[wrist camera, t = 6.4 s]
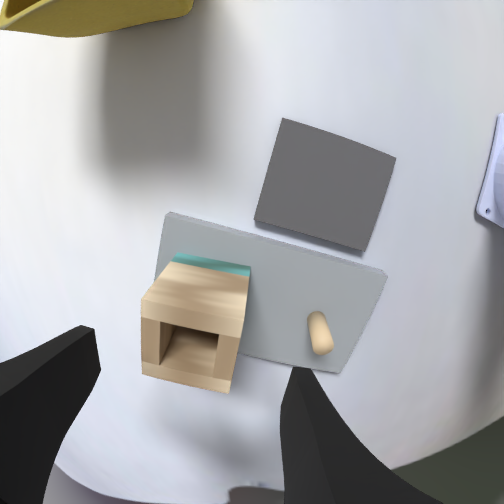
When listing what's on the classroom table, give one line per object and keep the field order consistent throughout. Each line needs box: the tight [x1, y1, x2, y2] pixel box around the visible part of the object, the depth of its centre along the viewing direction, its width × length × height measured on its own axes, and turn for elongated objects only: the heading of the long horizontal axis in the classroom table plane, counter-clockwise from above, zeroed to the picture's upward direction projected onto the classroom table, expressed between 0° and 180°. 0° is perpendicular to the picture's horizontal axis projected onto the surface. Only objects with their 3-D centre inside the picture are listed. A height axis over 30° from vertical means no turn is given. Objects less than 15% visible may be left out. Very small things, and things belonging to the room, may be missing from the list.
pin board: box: [154, 212, 388, 373], centre depth 18 cm, size 14×8×4 cm, turn 75°
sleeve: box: [141, 252, 251, 394], centre depth 16 cm, size 4×4×6 cm
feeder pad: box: [254, 118, 396, 252], centre depth 17 cm, size 7×6×1 cm
